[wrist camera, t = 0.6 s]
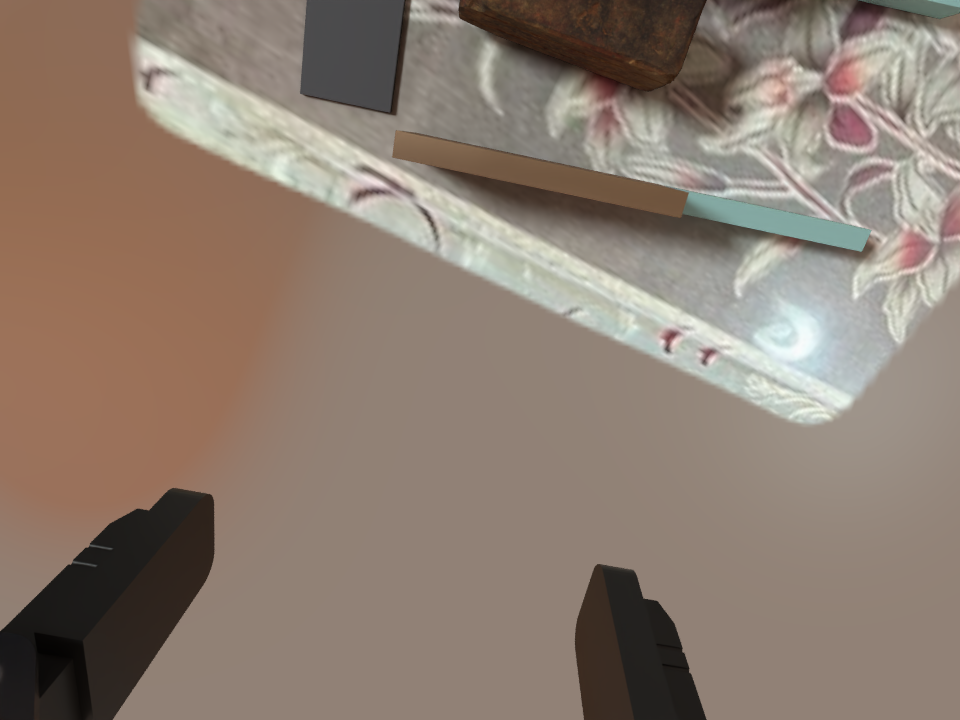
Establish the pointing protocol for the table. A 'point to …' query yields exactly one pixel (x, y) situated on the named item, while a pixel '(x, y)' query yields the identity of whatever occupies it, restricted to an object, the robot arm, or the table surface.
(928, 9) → the bay
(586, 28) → the brick
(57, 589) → the robot arm
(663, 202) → the trench
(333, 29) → the pad
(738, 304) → the table surface
